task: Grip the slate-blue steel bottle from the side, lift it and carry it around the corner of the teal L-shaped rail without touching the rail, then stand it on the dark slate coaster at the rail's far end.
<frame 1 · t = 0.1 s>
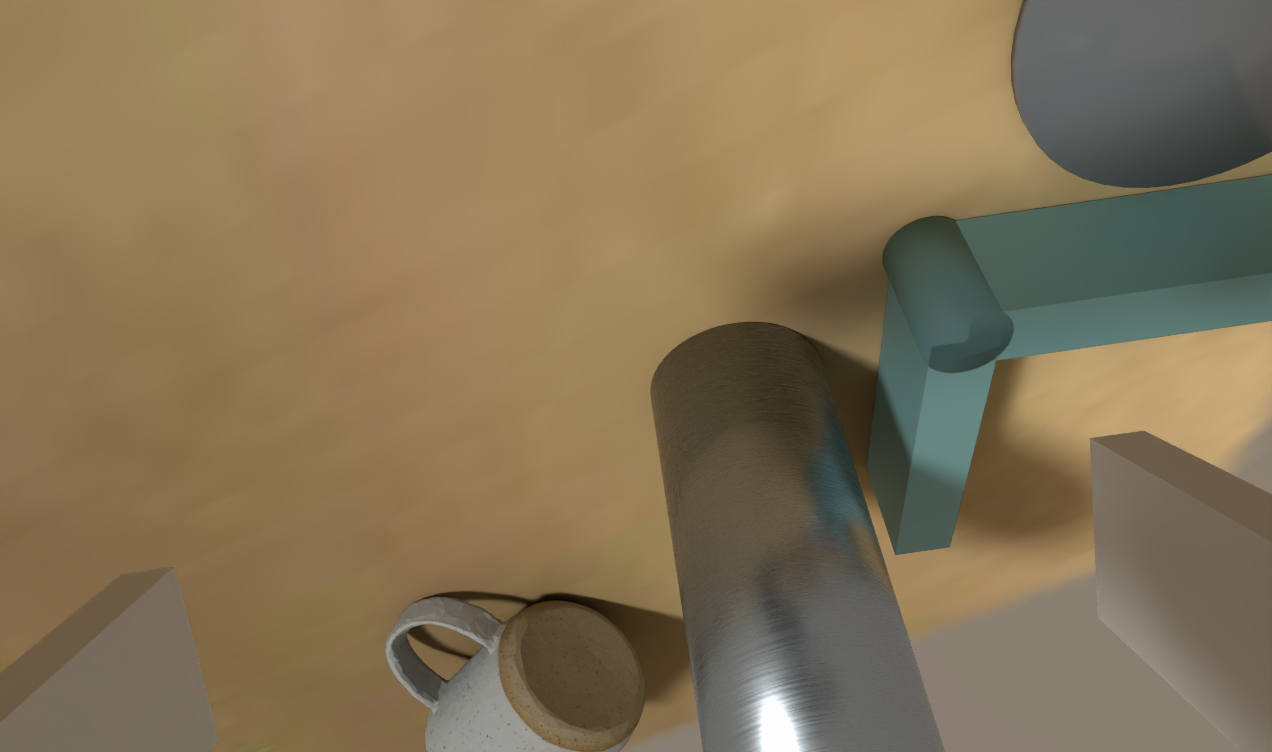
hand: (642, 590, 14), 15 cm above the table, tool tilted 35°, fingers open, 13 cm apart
coaster: (1228, 0, 25), on the table
bent rail: (924, 250, 30), on the table
bottle: (736, 384, 34), on the table
ceramic mug: (507, 627, 45), on the table
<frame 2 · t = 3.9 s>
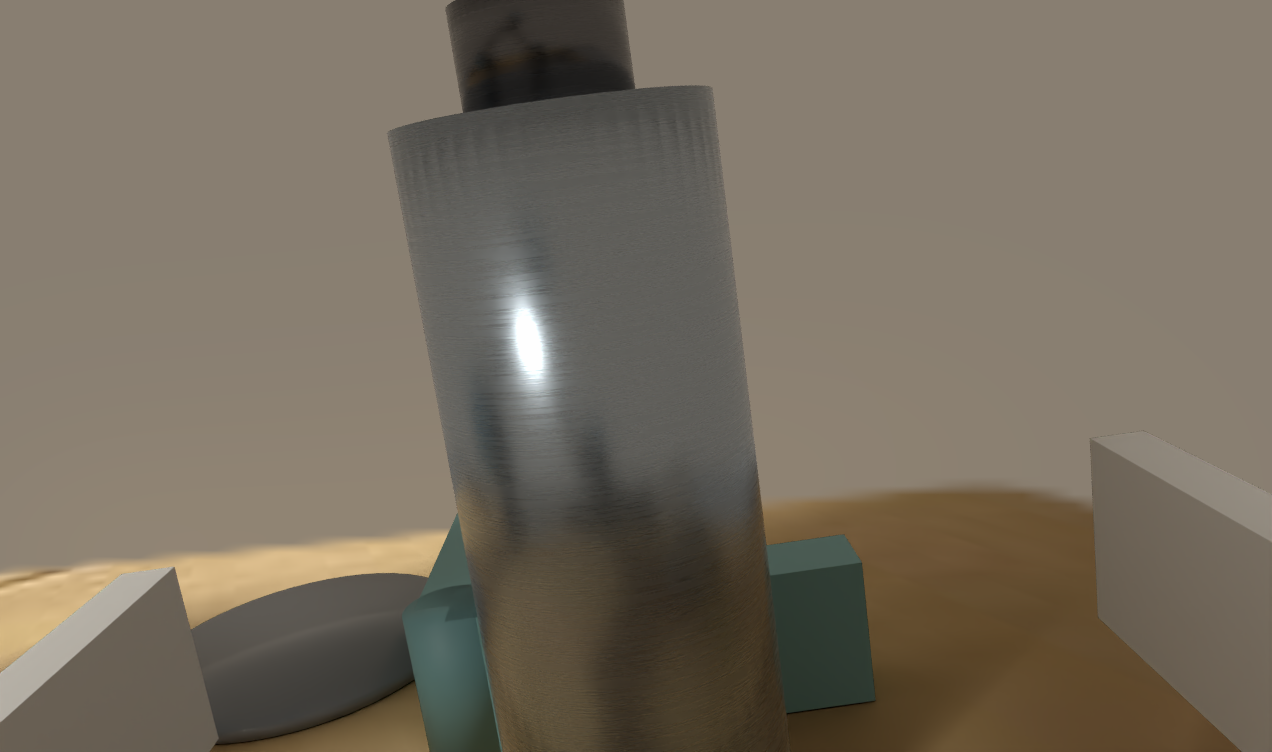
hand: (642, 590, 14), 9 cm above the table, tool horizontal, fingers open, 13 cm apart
coaster: (305, 651, 34), on the table
bent rail: (476, 736, 27), on the table
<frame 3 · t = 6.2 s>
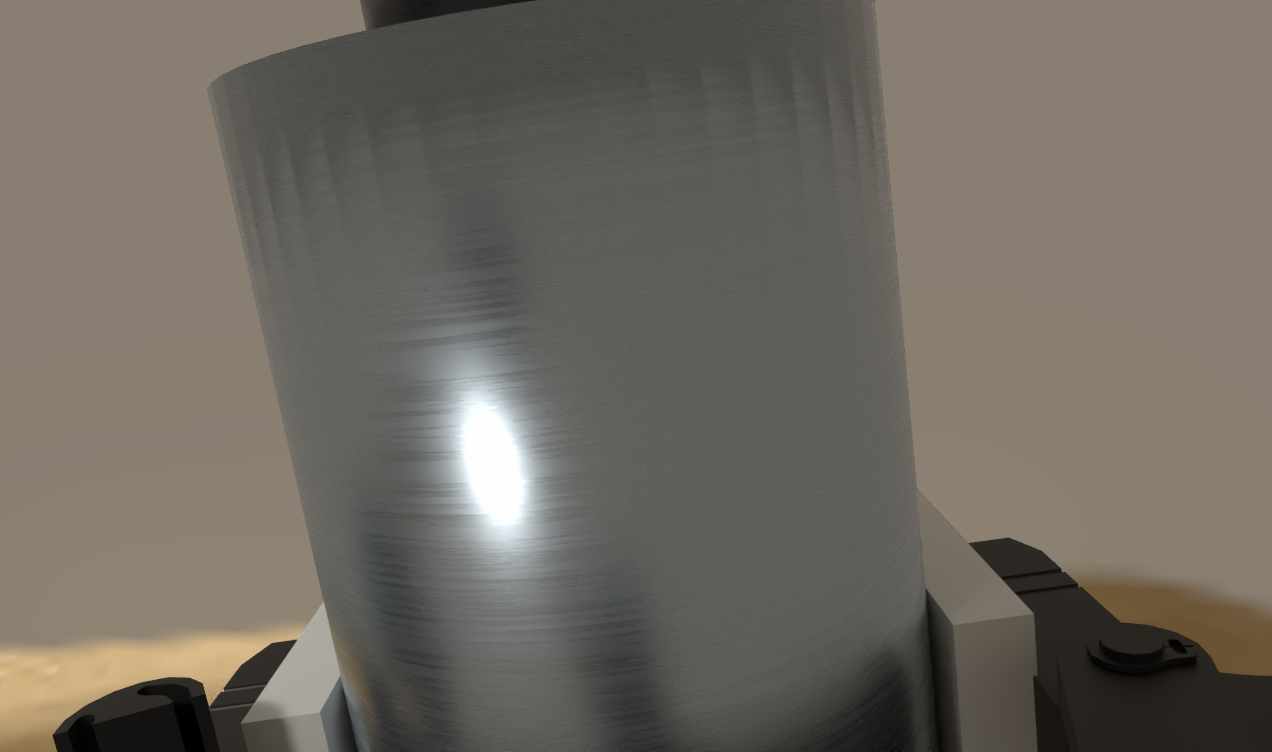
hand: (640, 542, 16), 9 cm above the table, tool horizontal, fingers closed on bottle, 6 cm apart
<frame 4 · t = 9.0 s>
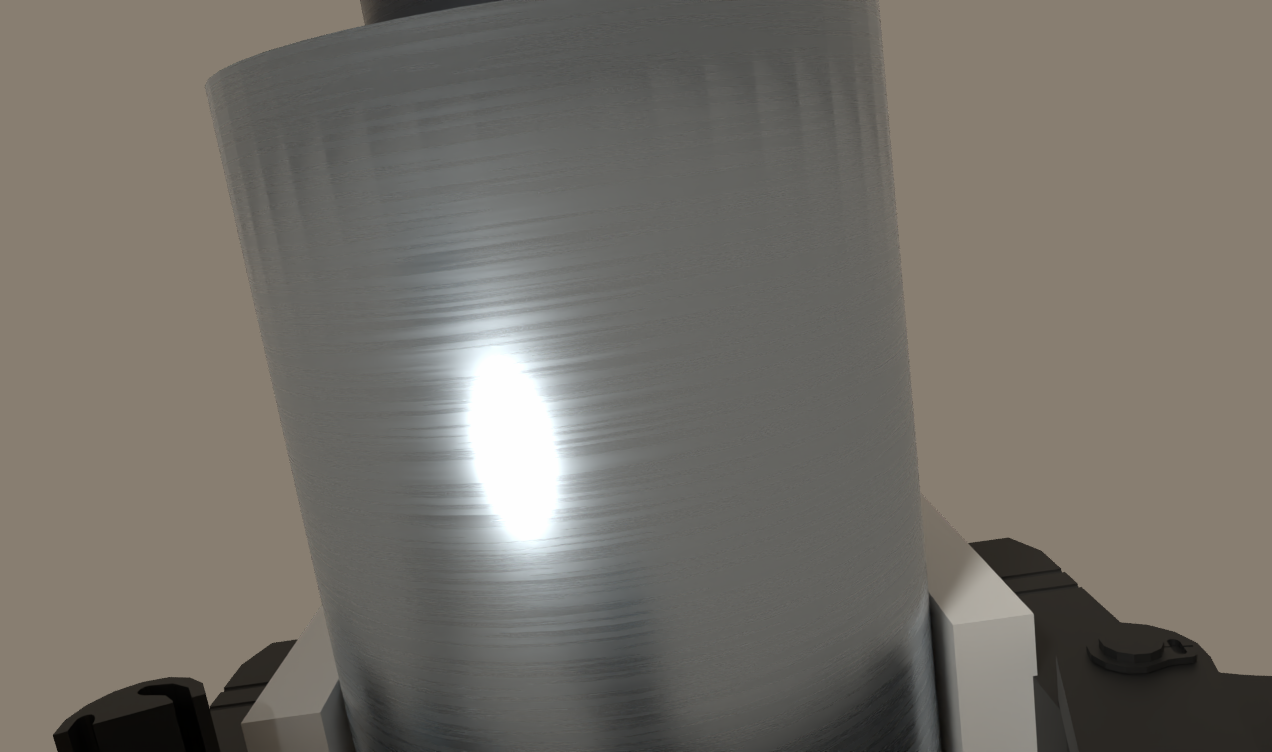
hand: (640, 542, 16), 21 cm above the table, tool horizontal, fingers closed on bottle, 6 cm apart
when the fingers open (10 cm above the table, at t = 11.7 s): bottle stays where it is, resting on coaster.
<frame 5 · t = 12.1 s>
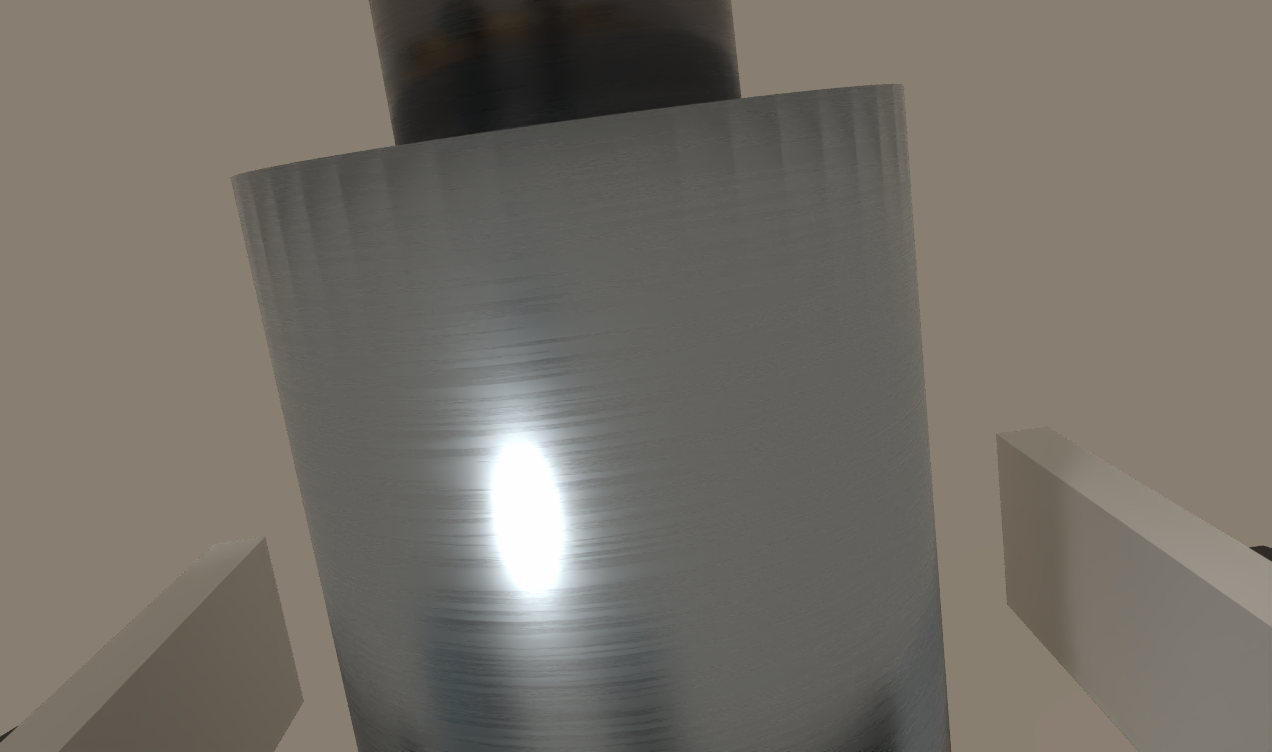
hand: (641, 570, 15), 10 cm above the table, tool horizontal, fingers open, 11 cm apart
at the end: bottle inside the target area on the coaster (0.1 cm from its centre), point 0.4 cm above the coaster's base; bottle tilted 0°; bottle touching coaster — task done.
